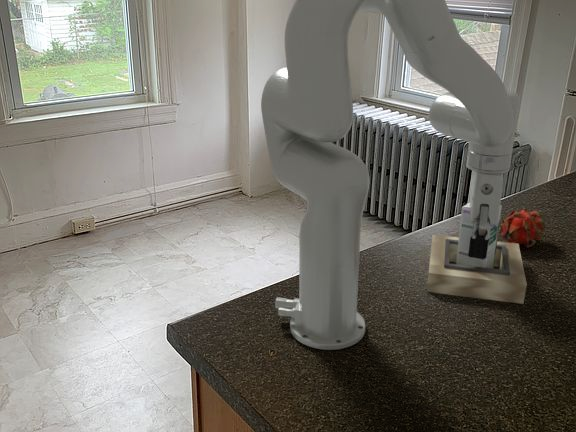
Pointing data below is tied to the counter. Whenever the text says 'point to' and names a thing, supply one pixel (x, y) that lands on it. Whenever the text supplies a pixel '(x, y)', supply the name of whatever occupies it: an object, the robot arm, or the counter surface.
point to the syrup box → (464, 241)
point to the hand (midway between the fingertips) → (476, 247)
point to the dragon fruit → (523, 227)
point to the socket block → (476, 273)
